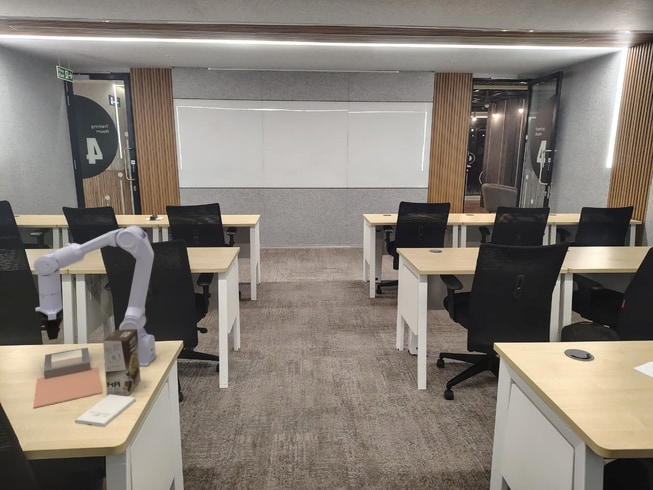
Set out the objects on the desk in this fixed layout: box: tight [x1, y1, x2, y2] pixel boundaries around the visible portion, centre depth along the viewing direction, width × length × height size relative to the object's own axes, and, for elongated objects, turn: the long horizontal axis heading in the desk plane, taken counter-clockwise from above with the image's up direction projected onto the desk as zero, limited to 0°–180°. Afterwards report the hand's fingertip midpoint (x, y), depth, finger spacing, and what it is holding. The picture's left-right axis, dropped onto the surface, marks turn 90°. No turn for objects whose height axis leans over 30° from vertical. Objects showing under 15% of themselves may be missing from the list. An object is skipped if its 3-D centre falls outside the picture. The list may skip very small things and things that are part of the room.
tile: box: [51, 349, 82, 368], centre depth 134 cm, size 6×8×2 cm
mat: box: [32, 366, 103, 409], centre depth 125 cm, size 18×16×1 cm
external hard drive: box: [74, 394, 136, 428], centre depth 113 cm, size 2×8×12 cm
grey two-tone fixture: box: [43, 347, 92, 379], centre depth 137 cm, size 13×12×3 cm
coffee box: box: [102, 329, 141, 397], centre depth 123 cm, size 9×6×16 cm
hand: (52, 335), depth 136 cm, fingers open, 7 cm apart
